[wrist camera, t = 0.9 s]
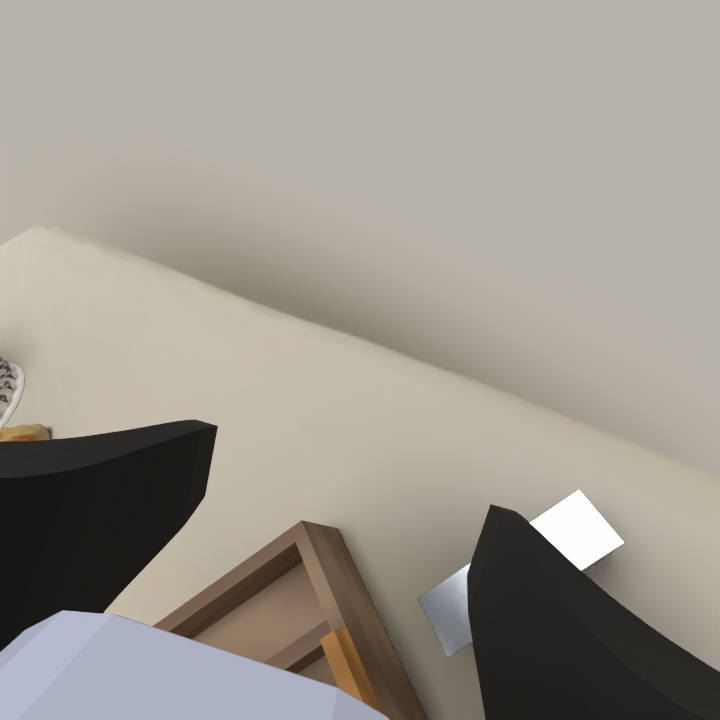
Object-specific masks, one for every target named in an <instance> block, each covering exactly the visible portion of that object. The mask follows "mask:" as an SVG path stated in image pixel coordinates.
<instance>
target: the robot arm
mask: <svg viewBox="0 0 720 720" xmlns="http://www.w3.org/2000/svg"><path fill="white" fill-rule="evenodd" d="M217 428H218V426H216V425H212V424H209V423H205V422H202V421H198V420H184V421H176V422H170V423H164V424H159V425H153V426H148V427H142V428H137V429H131V430H125V431H119V432H112V433H105V434H98V435H92V436H85V437H76V438H66V439H53V440H39V441H0V720H389V718H388V717H386V716H385V715H383V714H382V713H380V712H379V711H377V710H375V709H374V708H372V707H370V706H369V705H367V704H365V703H363V702H362V701H360V700H358V699H357V698H355V697H353V696H352V695H350V694H348V693H346V692H345V691H343V690H341V689H340V688H338V687H335V686H332V685H329V684H326V683H323V682H320V681H317V680H314V679H311V678H308V677H305V676H302V675H298V674H295V673H292V672H289V671H286V670H283V669H280V668H277V667H274V666H271V665H268V664H265V663H262V662H259V661H256V660H253V659H250V658H247V657H244V656H241V655H238V654H234V653H231V652H228V651H225V650H222V649H219V648H216V647H213V646H210V645H207V644H204V643H201V642H198V641H195V640H192V639H189V638H186V637H183V636H180V635H177V634H174V633H170V632H167V631H164V630H161V629H158V628H155V627H152V626H149V625H146V624H143V623H140V622H137V621H134V620H131V619H128V618H125V617H122V616H119V615H112V614H103V613H104V611H105V610H106V609H107V608H108V607H109V605H110V604H111V603H112V602H113V601H114V600H115V599H116V597H117V596H118V595H119V594H120V593H121V592H122V591H123V590H124V589H125V588H126V587H127V586H128V584H129V583H130V582H131V581H132V580H133V579H134V578H135V577H136V576H137V575H138V574H139V573H140V572H141V571H142V570H143V569H144V568H145V567H146V566H147V565H148V563H149V562H150V561H151V560H152V559H153V558H154V557H155V556H156V555H157V554H158V553H159V552H160V551H161V550H162V549H163V548H164V547H165V546H166V545H167V543H168V542H169V541H170V540H171V539H172V538H173V537H174V536H175V535H176V534H177V533H178V532H179V531H180V529H181V528H182V527H183V526H184V525H185V524H186V522H187V521H188V519H189V518H190V517H191V515H192V514H193V513H194V511H195V510H196V508H197V507H198V505H199V504H200V502H201V501H202V500H203V498H204V497H205V493H206V487H207V482H208V477H209V471H210V466H211V460H212V455H213V449H214V444H215V438H216V433H217ZM467 601H468V616H469V623H470V629H471V635H472V641H473V647H474V653H475V659H476V665H477V671H478V676H479V682H480V688H481V694H482V700H483V706H484V712H485V720H720V672H719V671H717V670H715V669H714V668H712V667H710V666H709V665H707V664H706V663H704V662H702V661H701V660H699V659H698V658H696V657H695V656H693V655H692V654H690V653H689V652H687V651H686V650H684V649H683V648H681V647H679V646H678V645H676V644H675V643H673V642H672V641H670V640H669V639H667V638H666V637H665V636H663V635H662V634H660V633H659V632H657V631H656V630H654V629H653V628H652V627H650V626H649V625H648V624H646V623H645V622H644V621H642V620H641V619H640V618H638V617H637V616H636V615H634V614H633V613H632V612H630V611H629V610H627V609H626V608H625V607H623V606H622V605H621V604H620V603H618V602H617V601H616V600H615V599H613V598H612V597H611V596H610V595H608V594H607V593H606V592H605V591H604V590H602V589H601V588H600V587H599V586H598V585H597V584H595V583H594V582H593V581H592V580H591V579H590V578H588V577H587V576H586V575H585V574H584V573H583V572H582V571H581V570H579V569H578V568H577V567H576V566H575V565H574V564H573V563H572V562H571V561H570V560H568V559H567V558H566V557H565V556H564V555H563V554H562V553H561V552H560V551H559V550H558V549H557V548H556V547H555V546H554V545H553V544H551V543H550V542H549V541H548V540H547V539H546V538H545V537H544V536H543V535H542V534H541V533H540V532H539V531H538V530H537V529H536V528H535V527H534V526H532V525H531V524H530V523H529V522H528V521H527V520H526V519H525V518H524V517H522V516H521V515H520V514H518V513H517V512H515V511H512V510H509V509H505V508H502V507H498V506H495V505H490V508H489V511H488V514H487V517H486V520H485V523H484V526H483V529H482V532H481V535H480V537H479V540H478V543H477V546H476V549H475V552H474V555H473V558H472V561H471V564H470V567H469V570H468V573H467Z"/></svg>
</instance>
